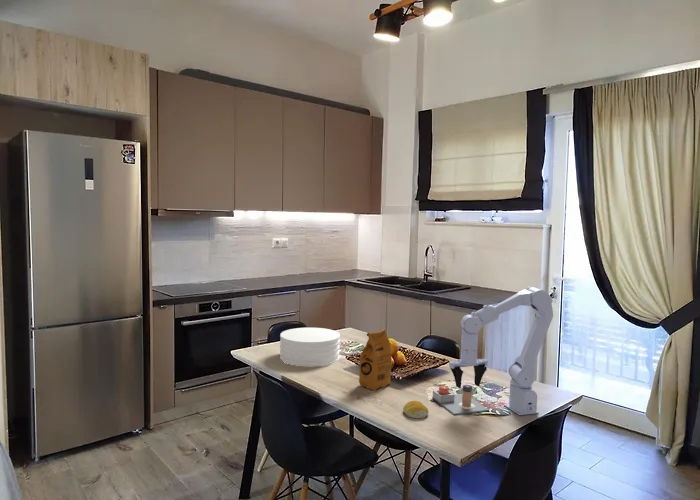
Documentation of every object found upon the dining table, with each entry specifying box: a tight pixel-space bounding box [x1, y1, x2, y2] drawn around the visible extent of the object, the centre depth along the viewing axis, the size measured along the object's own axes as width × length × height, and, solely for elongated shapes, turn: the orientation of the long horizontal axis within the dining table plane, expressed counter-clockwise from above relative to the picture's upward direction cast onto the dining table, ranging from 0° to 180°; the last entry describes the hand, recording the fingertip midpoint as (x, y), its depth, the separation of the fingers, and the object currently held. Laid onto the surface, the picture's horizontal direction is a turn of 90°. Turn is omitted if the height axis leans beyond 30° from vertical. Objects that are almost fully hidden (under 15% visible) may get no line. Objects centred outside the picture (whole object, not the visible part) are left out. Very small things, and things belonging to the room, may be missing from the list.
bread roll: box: [402, 400, 429, 419], centre depth 170 cm, size 8×9×4 cm
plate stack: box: [279, 327, 341, 367], centre depth 232 cm, size 28×28×12 cm
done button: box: [438, 385, 450, 395], centre depth 182 cm, size 4×4×3 cm
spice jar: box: [461, 384, 473, 407], centre depth 176 cm, size 3×3×7 cm
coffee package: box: [358, 328, 392, 391], centre depth 197 cm, size 10×12×22 cm
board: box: [431, 389, 490, 416], centre depth 179 cm, size 16×14×3 cm
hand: (467, 386), depth 176 cm, fingers open, 7 cm apart
